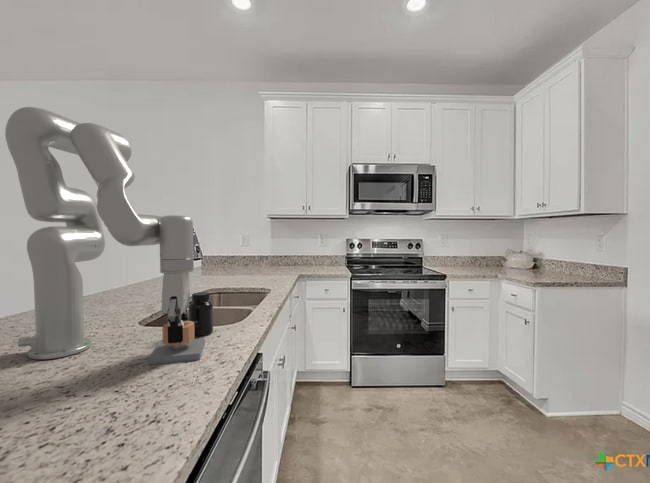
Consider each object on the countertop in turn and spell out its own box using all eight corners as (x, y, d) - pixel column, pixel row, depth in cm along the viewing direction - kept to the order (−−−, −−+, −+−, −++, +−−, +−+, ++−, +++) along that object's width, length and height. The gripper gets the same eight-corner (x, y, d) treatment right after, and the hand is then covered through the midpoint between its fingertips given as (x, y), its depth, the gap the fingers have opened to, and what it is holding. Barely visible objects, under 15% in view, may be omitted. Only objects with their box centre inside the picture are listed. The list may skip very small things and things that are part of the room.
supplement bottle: (187, 338, 91) (186, 296, 91) (190, 331, 98) (189, 291, 97) (212, 336, 93) (211, 294, 93) (214, 329, 100) (213, 290, 99)
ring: (160, 346, 76) (159, 330, 76) (166, 337, 83) (166, 321, 82) (191, 344, 78) (191, 327, 77) (195, 334, 84) (195, 319, 84)
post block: (148, 364, 73) (147, 327, 73) (160, 347, 84) (159, 315, 84) (199, 359, 76) (199, 323, 76) (204, 343, 87) (204, 312, 87)
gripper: (168, 262, 87) (169, 328, 87) (150, 270, 70) (152, 351, 71) (197, 262, 89) (199, 326, 89) (187, 269, 72) (189, 348, 73)
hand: (178, 336), depth 80 cm, fingers closed on ring, 6 cm apart
